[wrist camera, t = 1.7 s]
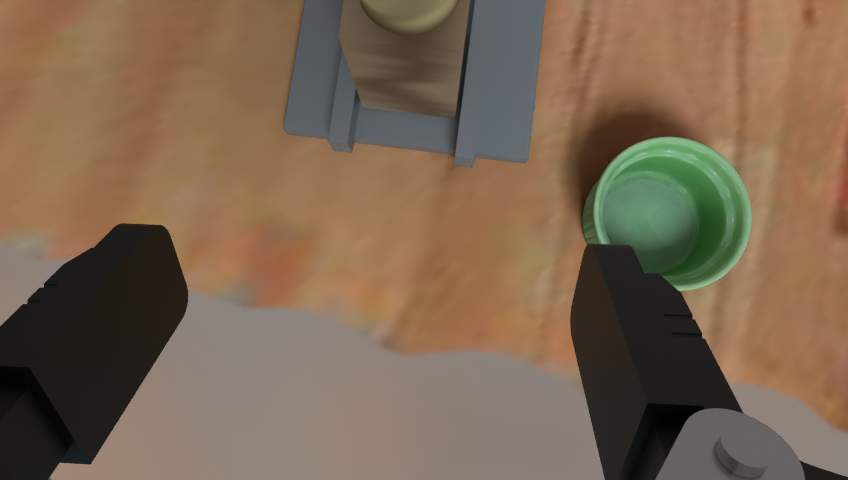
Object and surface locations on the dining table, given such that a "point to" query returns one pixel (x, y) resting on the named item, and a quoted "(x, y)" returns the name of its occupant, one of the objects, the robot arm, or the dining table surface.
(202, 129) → the dining table surface
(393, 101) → the brown bottle-shaped block
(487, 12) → the mount
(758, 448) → the robot arm
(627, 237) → the ramekin
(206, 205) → the dining table surface
